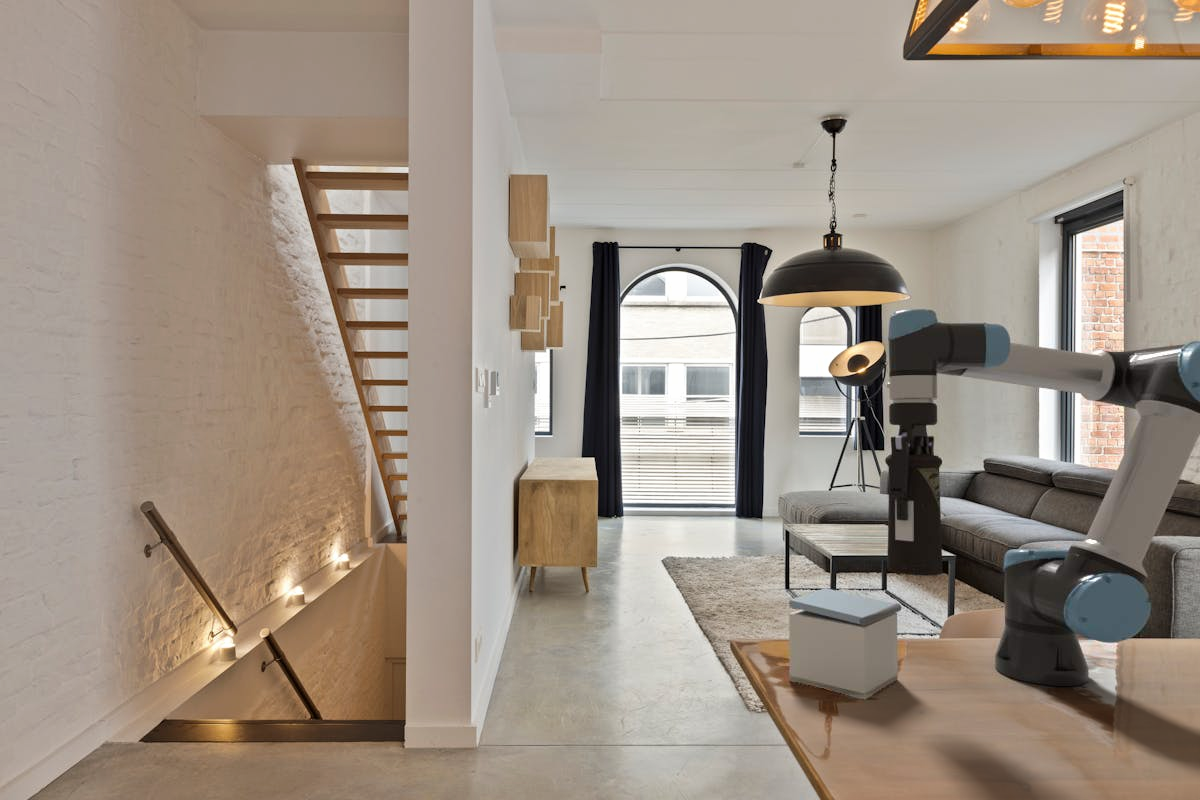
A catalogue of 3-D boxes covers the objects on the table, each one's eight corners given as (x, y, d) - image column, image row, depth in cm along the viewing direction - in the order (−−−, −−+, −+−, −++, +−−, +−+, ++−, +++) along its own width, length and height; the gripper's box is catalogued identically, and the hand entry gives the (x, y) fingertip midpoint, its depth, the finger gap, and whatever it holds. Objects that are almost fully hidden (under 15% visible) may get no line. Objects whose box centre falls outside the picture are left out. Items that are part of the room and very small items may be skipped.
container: (949, 577, 125) (948, 453, 125) (890, 575, 126) (889, 452, 127) (936, 568, 133) (935, 451, 134) (881, 566, 135) (880, 451, 135)
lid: (788, 607, 139) (789, 599, 139) (825, 594, 150) (825, 587, 150) (867, 627, 129) (868, 618, 129) (901, 612, 140) (901, 604, 140)
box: (897, 679, 140) (897, 613, 140) (864, 699, 130) (864, 627, 130) (825, 663, 149) (825, 600, 150) (789, 680, 139) (789, 613, 139)
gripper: (912, 403, 141) (913, 529, 140) (866, 400, 125) (867, 541, 125) (955, 403, 136) (956, 533, 135) (913, 399, 120) (914, 547, 120)
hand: (913, 537), depth 130 cm, fingers closed on container, 8 cm apart
